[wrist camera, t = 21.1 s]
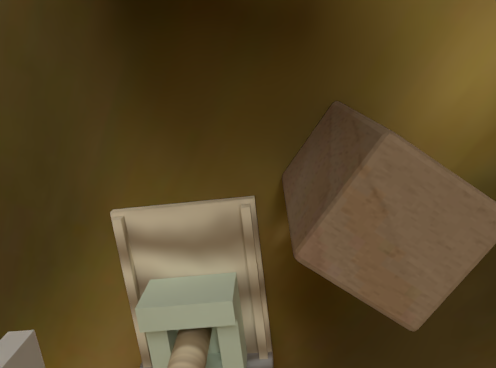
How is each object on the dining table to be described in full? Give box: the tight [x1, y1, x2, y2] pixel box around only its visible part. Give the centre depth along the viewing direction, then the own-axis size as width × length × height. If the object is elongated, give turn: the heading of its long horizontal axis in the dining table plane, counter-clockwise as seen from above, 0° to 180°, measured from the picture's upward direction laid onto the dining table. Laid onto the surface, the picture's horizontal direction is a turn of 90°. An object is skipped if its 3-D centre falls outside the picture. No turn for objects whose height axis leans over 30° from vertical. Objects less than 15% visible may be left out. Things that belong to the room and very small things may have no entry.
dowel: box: [167, 327, 212, 368], centre depth 42 cm, size 4×4×14 cm
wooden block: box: [282, 101, 496, 331], centre depth 36 cm, size 10×10×20 cm
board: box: [110, 196, 273, 368], centre depth 48 cm, size 21×16×5 cm
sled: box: [135, 272, 247, 368], centre depth 47 cm, size 11×10×6 cm
